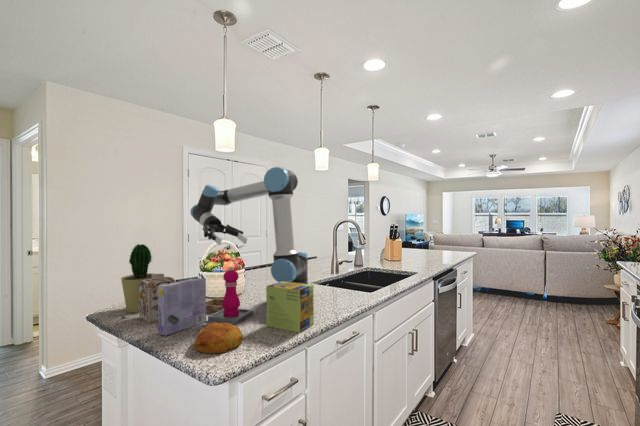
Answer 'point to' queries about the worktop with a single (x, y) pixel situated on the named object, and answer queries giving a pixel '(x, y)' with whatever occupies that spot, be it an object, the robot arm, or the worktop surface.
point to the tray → (232, 320)
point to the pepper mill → (230, 294)
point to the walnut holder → (211, 305)
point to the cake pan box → (181, 305)
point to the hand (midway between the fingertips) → (233, 241)
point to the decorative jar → (151, 296)
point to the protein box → (290, 306)
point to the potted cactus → (136, 276)
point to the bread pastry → (218, 338)
